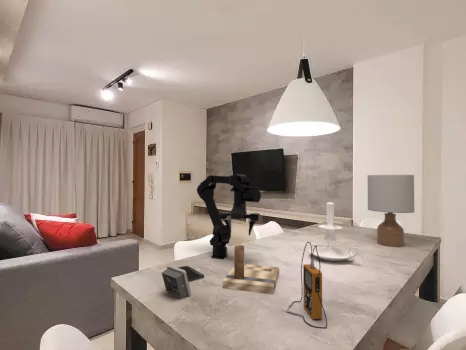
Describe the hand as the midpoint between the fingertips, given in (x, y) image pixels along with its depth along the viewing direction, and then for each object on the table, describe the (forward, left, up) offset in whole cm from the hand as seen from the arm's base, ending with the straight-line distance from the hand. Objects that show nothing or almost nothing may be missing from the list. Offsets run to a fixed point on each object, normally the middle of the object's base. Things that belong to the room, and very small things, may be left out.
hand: (239, 234), depth 118 cm
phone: (-17, -20, -14) cm, 30 cm away
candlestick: (+43, +18, -13) cm, 48 cm away
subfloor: (+10, -18, -13) cm, 25 cm away
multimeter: (+28, -39, -13) cm, 50 cm away
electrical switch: (-12, -38, -13) cm, 42 cm away
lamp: (+79, +60, -13) cm, 100 cm away
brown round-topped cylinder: (+6, -24, -13) cm, 28 cm away
